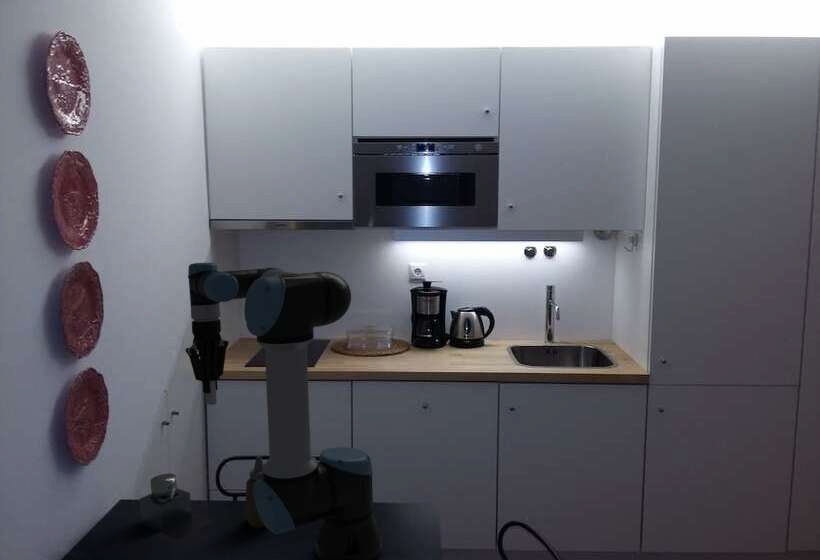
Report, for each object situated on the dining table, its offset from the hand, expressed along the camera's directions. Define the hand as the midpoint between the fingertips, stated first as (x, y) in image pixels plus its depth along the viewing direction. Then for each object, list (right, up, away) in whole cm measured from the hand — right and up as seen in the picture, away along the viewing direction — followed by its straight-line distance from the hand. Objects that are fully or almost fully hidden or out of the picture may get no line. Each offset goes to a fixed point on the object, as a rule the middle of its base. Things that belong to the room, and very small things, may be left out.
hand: (211, 403), depth 165 cm
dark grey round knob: (-7, -27, -13) cm, 30 cm away
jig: (-4, -28, -14) cm, 32 cm away
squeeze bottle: (+18, -28, -15) cm, 36 cm away
